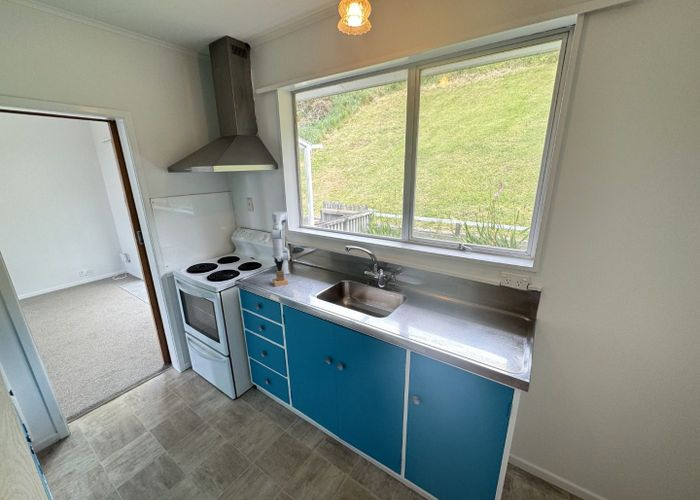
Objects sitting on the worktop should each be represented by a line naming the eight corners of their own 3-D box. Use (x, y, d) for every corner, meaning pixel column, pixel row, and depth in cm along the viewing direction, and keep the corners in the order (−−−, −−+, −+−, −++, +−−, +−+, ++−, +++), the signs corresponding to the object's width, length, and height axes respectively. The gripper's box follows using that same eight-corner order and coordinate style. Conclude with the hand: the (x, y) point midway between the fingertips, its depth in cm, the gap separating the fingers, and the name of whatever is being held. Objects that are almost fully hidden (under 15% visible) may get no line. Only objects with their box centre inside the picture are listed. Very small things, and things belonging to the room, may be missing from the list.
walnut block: (276, 278, 185) (276, 271, 183) (283, 278, 186) (283, 270, 185) (277, 281, 181) (276, 273, 179) (284, 280, 182) (283, 273, 181)
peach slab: (272, 283, 185) (272, 278, 184) (284, 281, 189) (284, 276, 188) (275, 287, 178) (275, 282, 178) (288, 285, 182) (287, 280, 181)
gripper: (270, 246, 183) (272, 266, 187) (271, 251, 170) (273, 273, 173) (281, 245, 185) (283, 265, 189) (283, 250, 172) (285, 271, 175)
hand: (279, 268), depth 181 cm, fingers open, 7 cm apart
